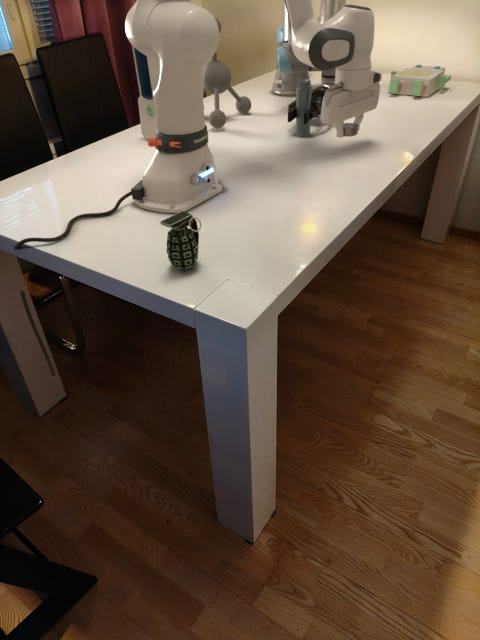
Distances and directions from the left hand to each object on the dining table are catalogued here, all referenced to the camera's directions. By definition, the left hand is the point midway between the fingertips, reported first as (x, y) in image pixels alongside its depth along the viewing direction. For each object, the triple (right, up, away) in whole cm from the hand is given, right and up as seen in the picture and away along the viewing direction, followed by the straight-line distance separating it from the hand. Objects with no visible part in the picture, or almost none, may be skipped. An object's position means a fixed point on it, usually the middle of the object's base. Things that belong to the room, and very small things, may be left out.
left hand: (348, 133), depth 134 cm
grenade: (-40, -41, -42) cm, 71 cm away
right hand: (-13, +8, +8) cm, 17 cm away
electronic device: (-54, +6, +19) cm, 57 cm away
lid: (0, +1, -1) cm, 2 cm away
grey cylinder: (-10, +6, +15) cm, 19 cm away
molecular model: (-35, +18, +33) cm, 51 cm away
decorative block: (+37, +36, +51) cm, 72 cm away
